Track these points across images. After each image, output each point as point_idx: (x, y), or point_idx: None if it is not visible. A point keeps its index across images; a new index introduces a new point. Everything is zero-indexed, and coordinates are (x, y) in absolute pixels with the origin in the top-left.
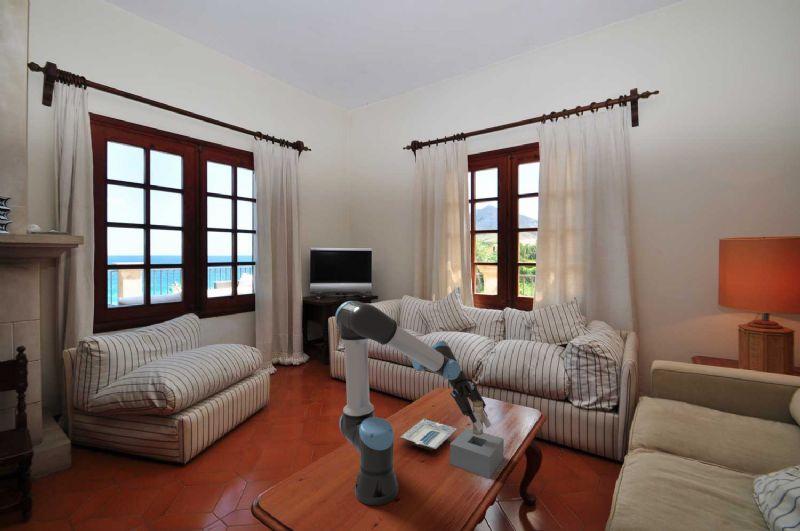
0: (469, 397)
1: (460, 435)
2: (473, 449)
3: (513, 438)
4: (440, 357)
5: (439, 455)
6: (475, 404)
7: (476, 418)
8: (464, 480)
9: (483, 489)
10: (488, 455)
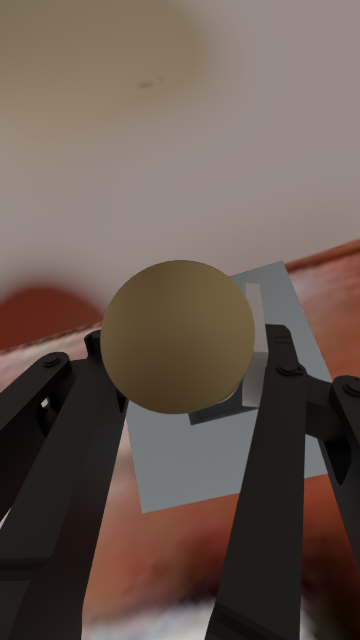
0: (79, 591)
1: (241, 482)
2: (295, 340)
3: (4, 385)
4: None
5: (318, 530)
6: (252, 315)
7: (263, 323)
8: (349, 341)
9: (328, 275)
10: (276, 269)
